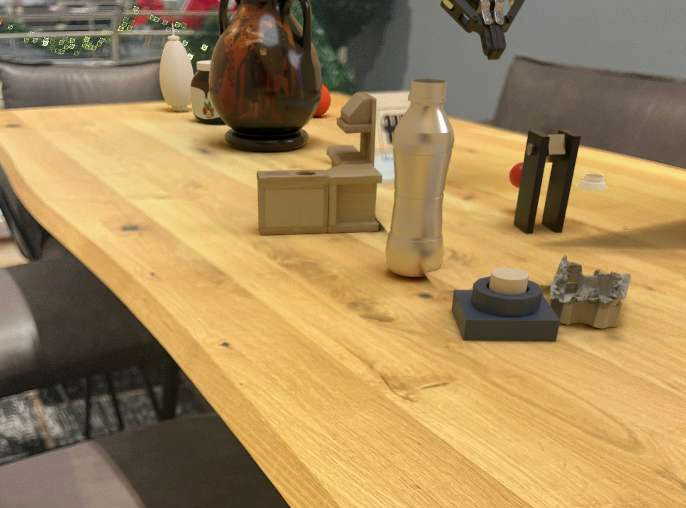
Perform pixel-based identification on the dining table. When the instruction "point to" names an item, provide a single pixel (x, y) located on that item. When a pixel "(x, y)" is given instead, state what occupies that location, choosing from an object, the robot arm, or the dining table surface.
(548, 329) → the control block
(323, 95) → the clementine
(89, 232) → the dining table surface
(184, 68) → the sauce bottle
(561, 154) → the lever
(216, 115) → the spread jar
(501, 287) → the button
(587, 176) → the lidless jar
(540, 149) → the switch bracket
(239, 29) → the amphora vase
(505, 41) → the robot arm
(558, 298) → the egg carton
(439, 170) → the plastic bottle
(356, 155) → the toy kitchen set
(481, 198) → the dining table surface
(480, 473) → the dining table surface
